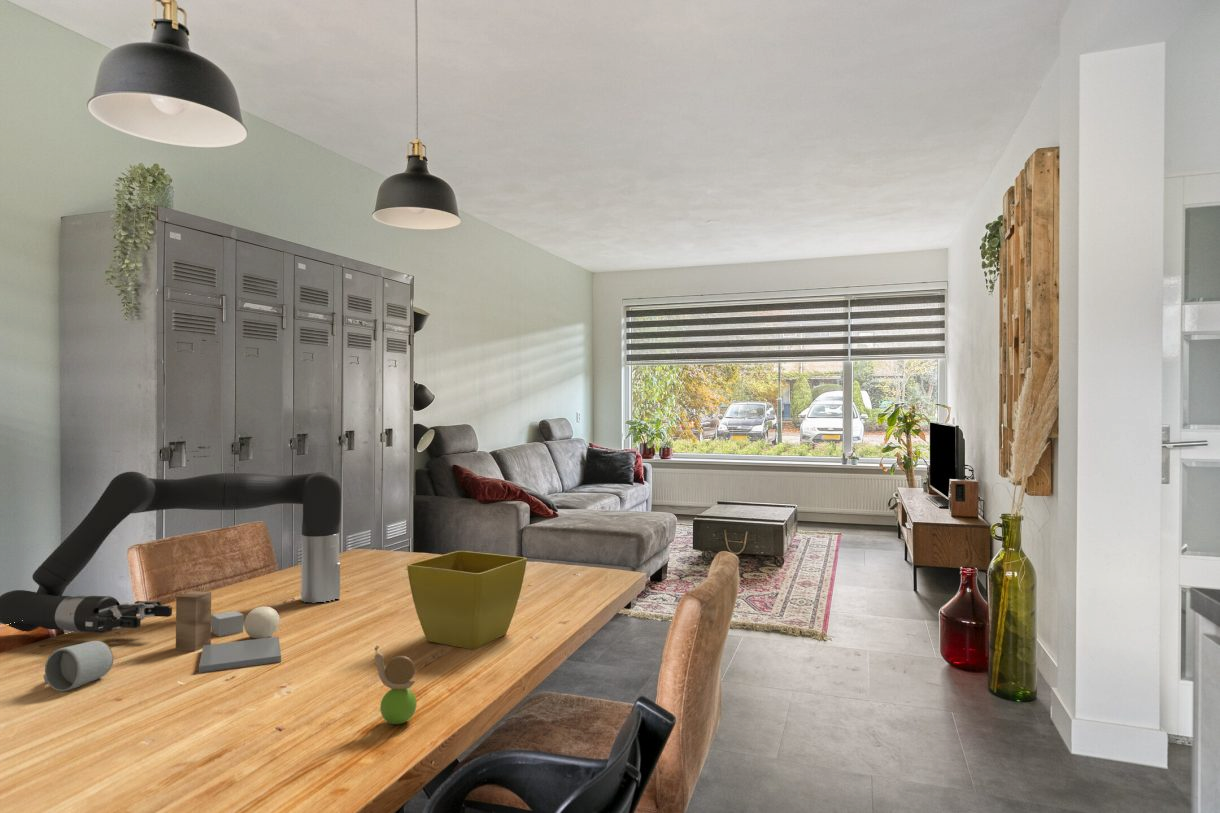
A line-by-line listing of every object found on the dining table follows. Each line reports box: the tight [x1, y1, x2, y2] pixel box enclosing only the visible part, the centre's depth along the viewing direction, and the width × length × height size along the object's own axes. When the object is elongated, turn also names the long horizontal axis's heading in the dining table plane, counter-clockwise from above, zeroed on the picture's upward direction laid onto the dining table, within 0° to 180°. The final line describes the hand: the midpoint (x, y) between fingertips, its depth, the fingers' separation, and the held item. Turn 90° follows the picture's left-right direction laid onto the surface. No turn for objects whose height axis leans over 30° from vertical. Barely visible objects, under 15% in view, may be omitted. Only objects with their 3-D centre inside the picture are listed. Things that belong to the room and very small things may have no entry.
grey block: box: [211, 610, 244, 637], centre depth 161 cm, size 5×5×4 cm
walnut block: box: [175, 590, 212, 652], centre depth 150 cm, size 4×4×11 cm
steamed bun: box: [243, 606, 281, 639], centre depth 157 cm, size 7×7×7 cm
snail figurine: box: [374, 645, 417, 725], centre depth 113 cm, size 5×6×12 cm
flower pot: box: [406, 550, 527, 650], centre depth 157 cm, size 19×19×17 cm
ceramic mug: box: [43, 640, 114, 692], centre depth 130 cm, size 10×8×7 cm
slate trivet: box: [198, 636, 282, 674], centre depth 145 cm, size 14×14×1 cm
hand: (155, 616), depth 152 cm, fingers open, 8 cm apart
